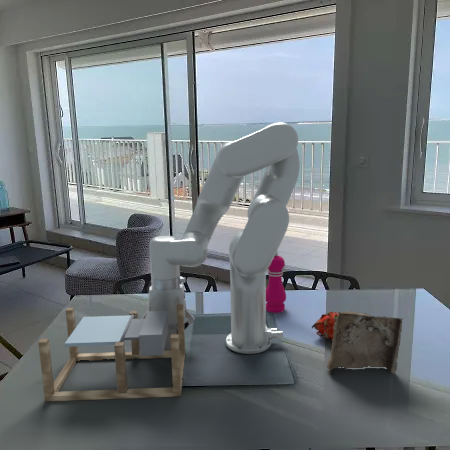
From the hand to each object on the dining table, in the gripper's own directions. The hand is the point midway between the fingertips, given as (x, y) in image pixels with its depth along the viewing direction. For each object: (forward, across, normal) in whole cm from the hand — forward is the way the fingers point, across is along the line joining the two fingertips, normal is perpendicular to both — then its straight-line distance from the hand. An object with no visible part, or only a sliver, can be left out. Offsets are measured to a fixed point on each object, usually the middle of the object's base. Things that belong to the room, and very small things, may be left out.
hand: (168, 344), depth 115 cm
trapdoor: (-8, +10, +14) cm, 19 cm away
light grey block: (+1, 0, 0) cm, 1 cm away
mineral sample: (+1, -48, +16) cm, 51 cm away
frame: (0, +10, +14) cm, 17 cm away
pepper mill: (+1, -33, -23) cm, 40 cm away
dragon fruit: (+1, -46, -1) cm, 46 cm away
